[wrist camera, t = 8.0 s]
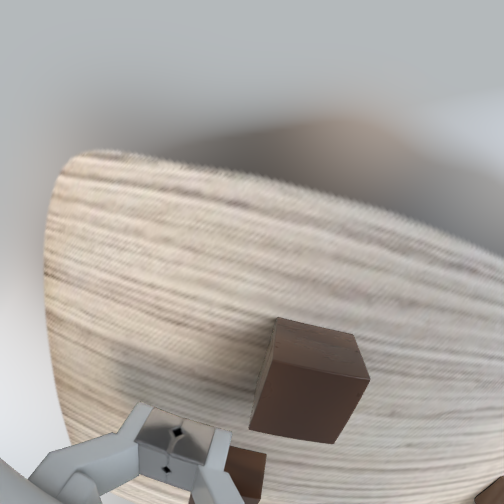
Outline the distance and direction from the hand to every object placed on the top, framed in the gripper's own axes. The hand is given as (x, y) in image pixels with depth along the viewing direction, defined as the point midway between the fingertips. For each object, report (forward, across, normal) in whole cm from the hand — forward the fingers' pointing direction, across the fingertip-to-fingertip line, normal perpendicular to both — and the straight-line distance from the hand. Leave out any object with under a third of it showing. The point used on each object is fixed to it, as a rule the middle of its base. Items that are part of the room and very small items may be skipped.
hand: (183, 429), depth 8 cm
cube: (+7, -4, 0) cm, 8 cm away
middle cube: (+7, -3, +11) cm, 13 cm away
